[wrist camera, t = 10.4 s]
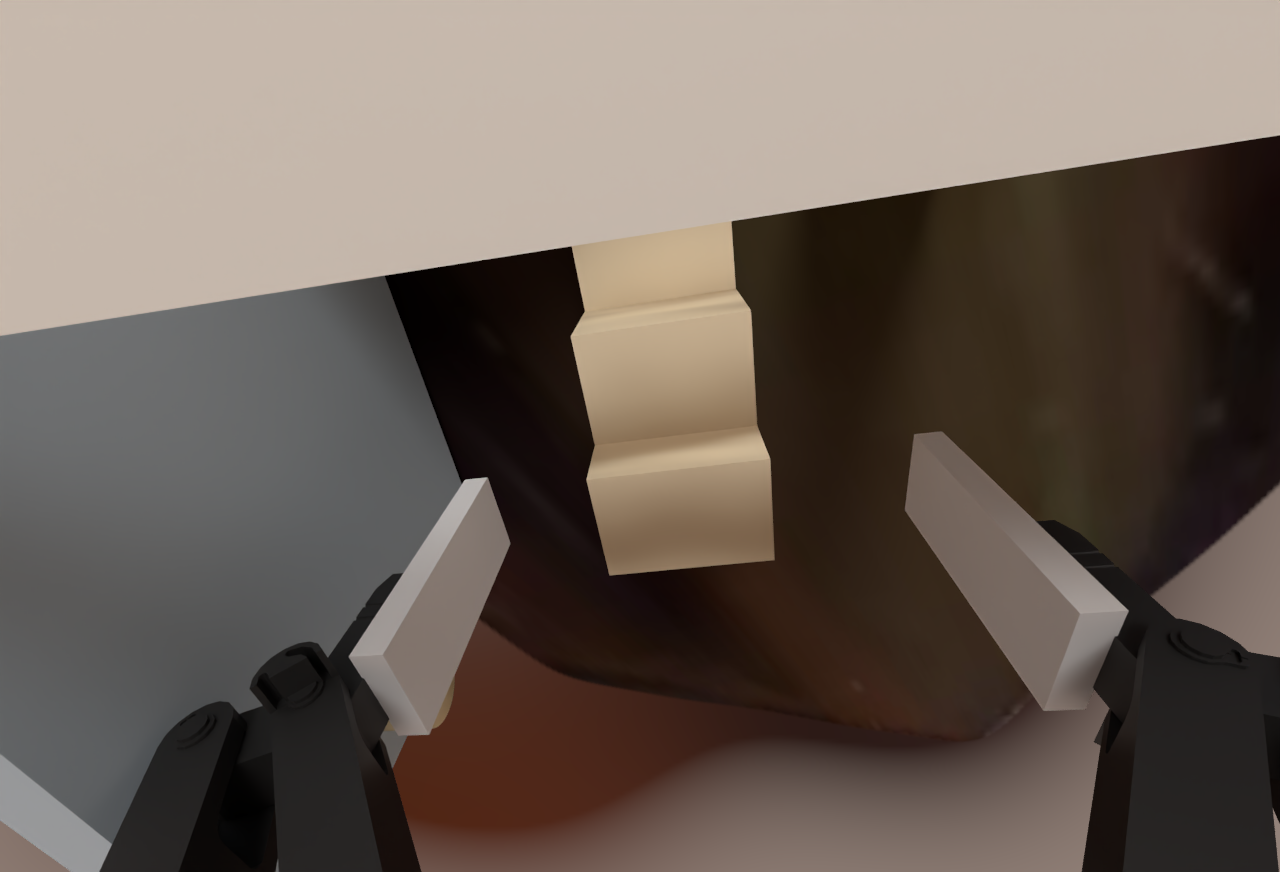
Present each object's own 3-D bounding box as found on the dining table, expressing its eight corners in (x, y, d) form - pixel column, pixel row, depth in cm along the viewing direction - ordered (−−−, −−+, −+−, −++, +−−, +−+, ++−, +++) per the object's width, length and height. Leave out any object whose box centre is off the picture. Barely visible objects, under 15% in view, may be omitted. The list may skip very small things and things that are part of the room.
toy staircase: (579, 209, 18) (526, 227, 11) (718, 185, 17) (758, 188, 10) (625, 449, 22) (609, 575, 15) (737, 436, 22) (774, 560, 15)
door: (519, 553, 25) (355, 989, 11) (460, 559, 25) (234, 989, 12) (401, 199, 17) (-435, 259, 4) (320, 213, 18) (-701, 313, 4)
